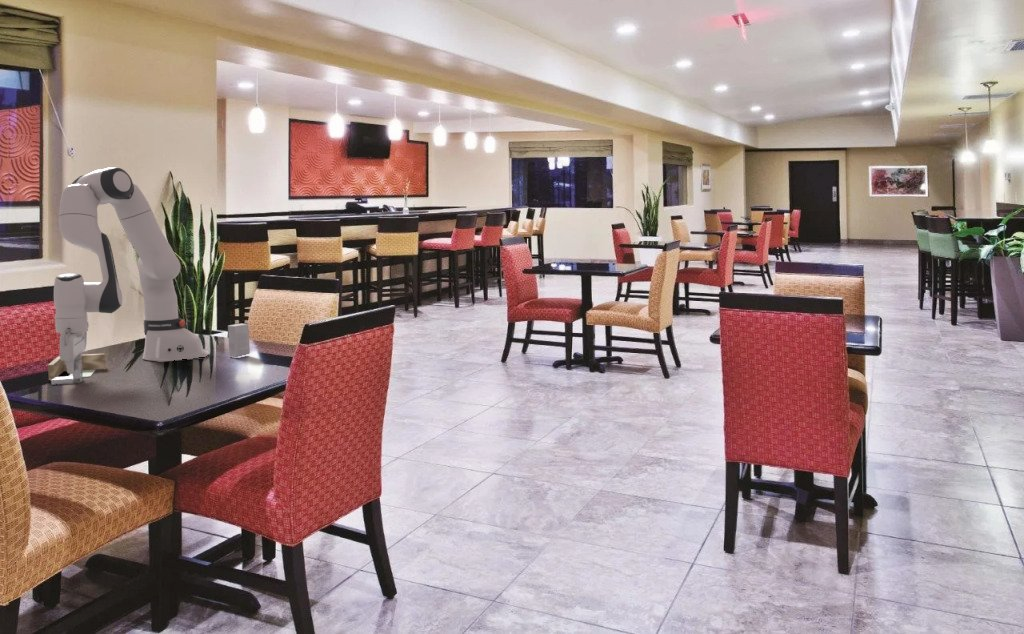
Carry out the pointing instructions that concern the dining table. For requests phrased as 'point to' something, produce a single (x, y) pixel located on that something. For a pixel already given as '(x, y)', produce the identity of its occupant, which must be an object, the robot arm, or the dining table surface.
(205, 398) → the dining table surface
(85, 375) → the pad
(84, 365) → the tan bent bar
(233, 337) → the skincare box
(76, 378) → the bracket
